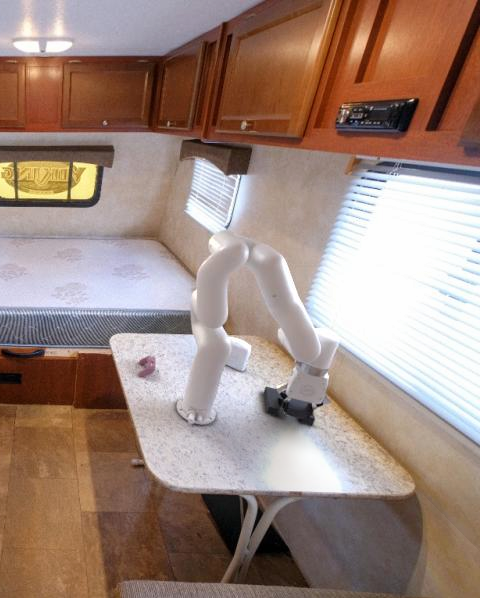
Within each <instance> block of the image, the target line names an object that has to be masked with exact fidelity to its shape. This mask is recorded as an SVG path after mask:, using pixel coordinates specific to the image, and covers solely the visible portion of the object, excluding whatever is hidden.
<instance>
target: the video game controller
mask: <svg viewBox="0 0 480 598" xmlns="http://www.w3.org/2000/svg"><path fill="white" fill-rule="evenodd" d="M156 360H157V359H156V357H155V356H154V355H151V354H150V355H146V356H145V357H142V358H141V359H140V360H139V361H138V363H139V364H140V365H145V368H144V369H142V370H141V371H139V373H138V375H139V377H147V376H149V375H151V374H153V373H154V372H156V367H157V366H156V362H157V361H156Z"/></svg>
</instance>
